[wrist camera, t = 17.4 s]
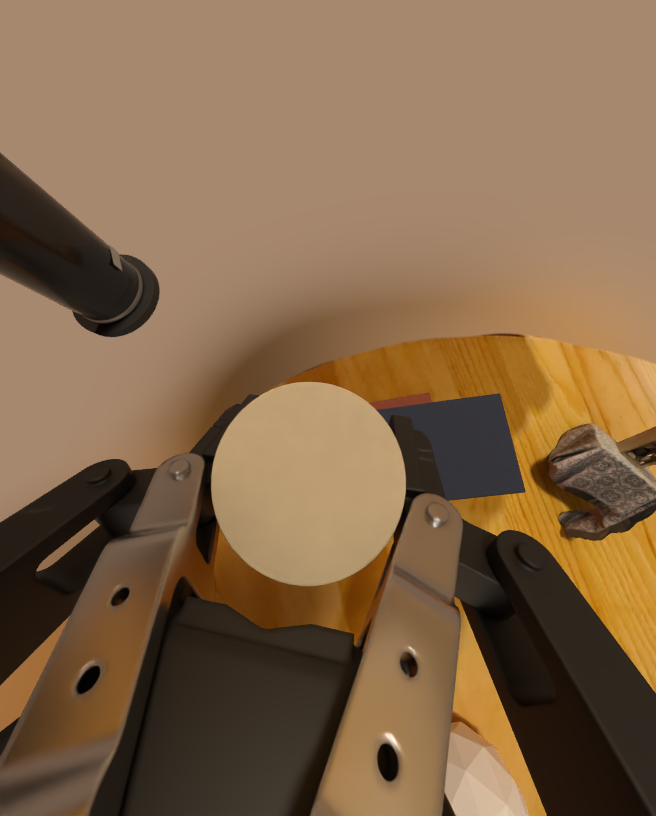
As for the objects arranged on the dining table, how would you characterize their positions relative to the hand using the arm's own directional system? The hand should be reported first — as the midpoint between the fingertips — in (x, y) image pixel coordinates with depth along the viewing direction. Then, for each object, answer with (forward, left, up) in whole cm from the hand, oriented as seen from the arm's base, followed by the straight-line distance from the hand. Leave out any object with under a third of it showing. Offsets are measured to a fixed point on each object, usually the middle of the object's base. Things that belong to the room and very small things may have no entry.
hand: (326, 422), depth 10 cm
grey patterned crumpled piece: (+24, +4, -17) cm, 30 cm away
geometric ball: (+18, -23, -17) cm, 34 cm away
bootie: (+4, 0, -5) cm, 6 cm away
